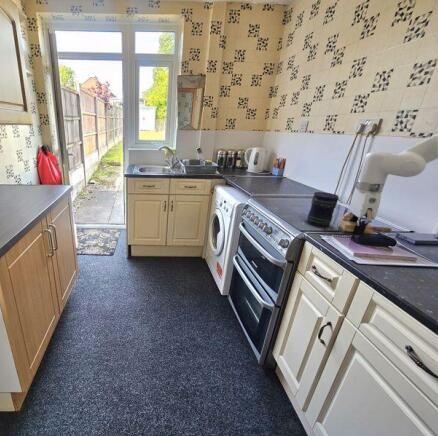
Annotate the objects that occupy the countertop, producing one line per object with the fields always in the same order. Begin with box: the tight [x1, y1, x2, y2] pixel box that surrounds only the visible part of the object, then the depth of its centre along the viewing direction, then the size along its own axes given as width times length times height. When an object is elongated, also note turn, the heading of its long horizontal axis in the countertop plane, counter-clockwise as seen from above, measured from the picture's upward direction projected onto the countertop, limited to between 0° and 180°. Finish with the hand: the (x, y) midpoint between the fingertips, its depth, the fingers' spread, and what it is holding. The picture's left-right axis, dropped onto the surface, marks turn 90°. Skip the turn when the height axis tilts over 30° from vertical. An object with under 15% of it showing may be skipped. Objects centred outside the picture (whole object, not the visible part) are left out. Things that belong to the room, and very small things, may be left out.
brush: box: [339, 221, 393, 237], centre depth 95 cm, size 16×5×4 cm, turn 72°
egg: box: [337, 212, 351, 227], centre depth 118 cm, size 6×6×7 cm
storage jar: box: [306, 191, 340, 229], centre depth 119 cm, size 10×10×15 cm
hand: (354, 231), depth 96 cm, fingers closed on brush, 4 cm apart
